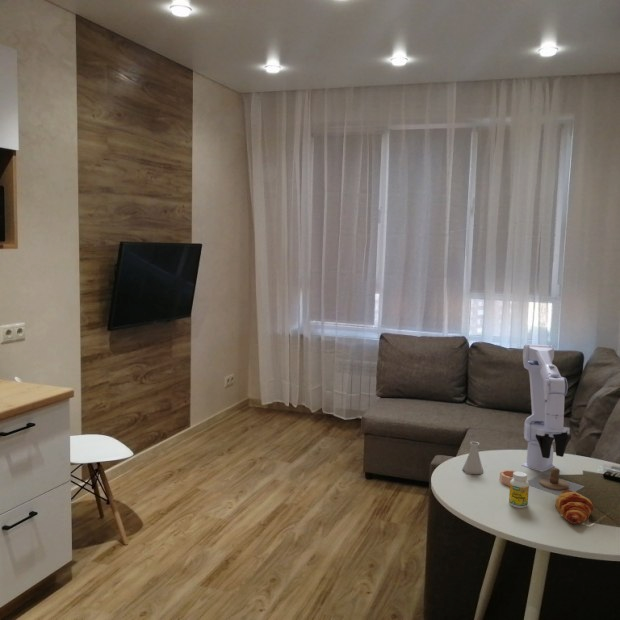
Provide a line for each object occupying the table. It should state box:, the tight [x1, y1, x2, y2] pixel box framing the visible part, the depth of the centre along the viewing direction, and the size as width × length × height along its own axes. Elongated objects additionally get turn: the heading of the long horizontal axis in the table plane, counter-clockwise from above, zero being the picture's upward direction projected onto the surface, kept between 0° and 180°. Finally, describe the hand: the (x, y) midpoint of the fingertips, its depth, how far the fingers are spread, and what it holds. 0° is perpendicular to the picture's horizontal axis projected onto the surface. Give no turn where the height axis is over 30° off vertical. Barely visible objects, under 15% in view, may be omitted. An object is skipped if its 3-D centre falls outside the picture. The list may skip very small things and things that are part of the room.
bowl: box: [499, 469, 518, 487], centre depth 200 cm, size 7×7×3 cm
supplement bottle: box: [508, 471, 530, 509], centre depth 183 cm, size 5×5×10 cm
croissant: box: [554, 490, 595, 524], centre depth 179 cm, size 21×10×8 cm, turn 160°
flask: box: [462, 441, 484, 475], centre depth 209 cm, size 7×7×10 cm
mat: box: [527, 473, 585, 496], centre depth 199 cm, size 14×14×1 cm
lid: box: [539, 467, 569, 490], centre depth 199 cm, size 9×9×5 cm
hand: (552, 457), depth 197 cm, fingers open, 7 cm apart
